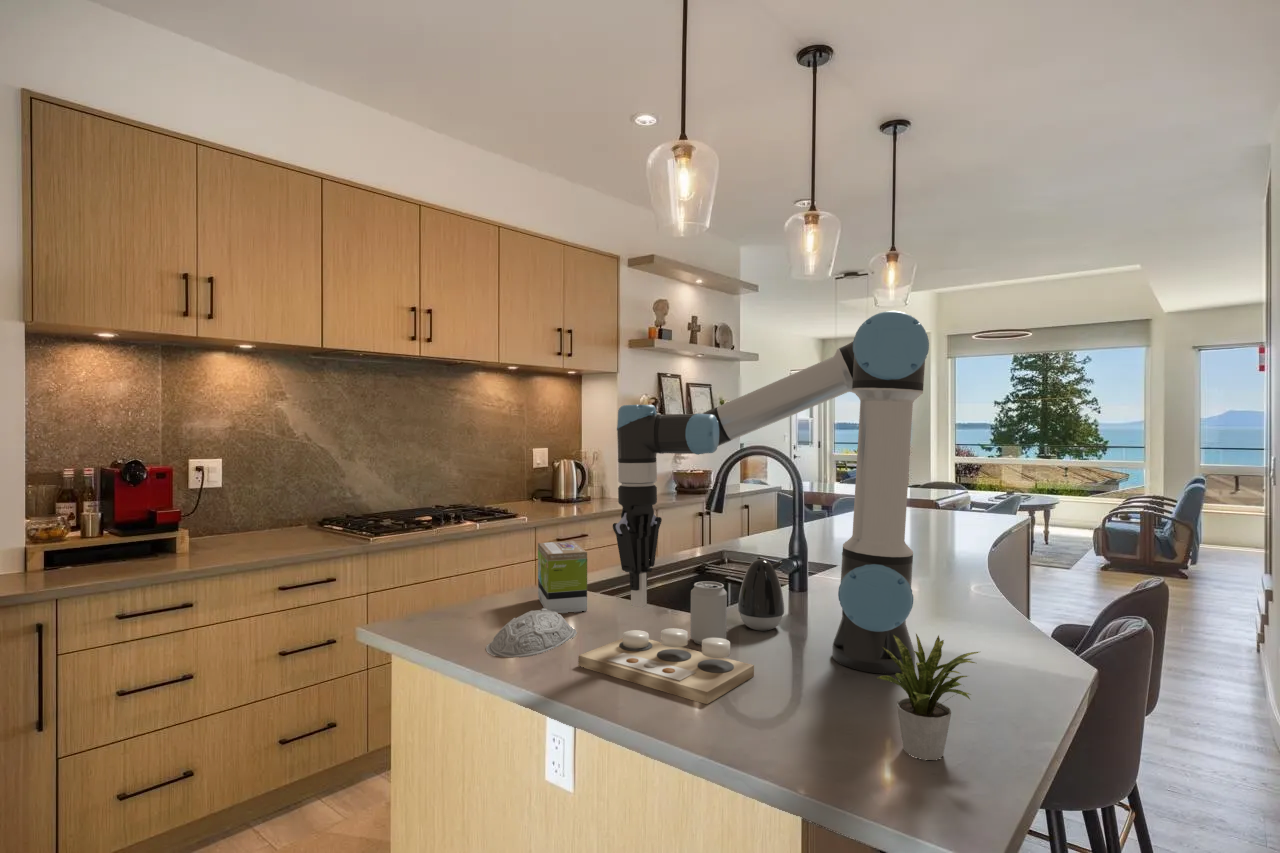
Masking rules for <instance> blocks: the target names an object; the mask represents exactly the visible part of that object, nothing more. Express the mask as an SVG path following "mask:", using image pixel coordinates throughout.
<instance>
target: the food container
mask: <svg viewBox="0 0 1280 853" xmlns="http://www.w3.org/2000/svg"><path fill="white" fill-rule="evenodd" d="M572 627H573V626H571V625H570V624H569V623H568V621H567V620H566V619H565V618H564V616H562V614H558V613H557V612H554V611H549V610H547V609H545V608H544V607H543V608H540V609H538V610H530V611H527V612H525V613H524V614H521V615H519V616H518V617H513V618H511V619H510V620H509V621H508V622H507V623H506V624H504V625H503V626H502V627H501V629H500V630H499V631H498V632H497V633H496V635H495V636H494V637H493V638H492V641H491V642H490V643H488V644H486V647H485V651H486V652H487V654H489V655H490V654H491V655H490V656H492V655H493V657H495V656H500V657H499V658H513V657H519V658H527V657H533V655H534V656H537V654H538V655H541V654H544V653H543V652H545V653H547V652H549V651H548V650H550V651H552V650H554V649H556V648H555V647H557V648H559V647H560V646H562V645H564V644H566V643H567V642H566V641H568V640H569V639H571V638H573V637H574V638H575V637H576V635H577V634H578V633H577V632H576V630H575V629H576V628H575V629H573V628H572ZM574 638H573V639H574ZM565 642H566V643H565ZM568 642H569V641H568ZM563 643H564V644H563ZM561 644H562V645H561ZM559 645H560V646H559ZM553 648H554V649H553ZM551 649H552V650H551ZM546 651H547V652H546ZM494 655H495V656H494Z"/></svg>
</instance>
